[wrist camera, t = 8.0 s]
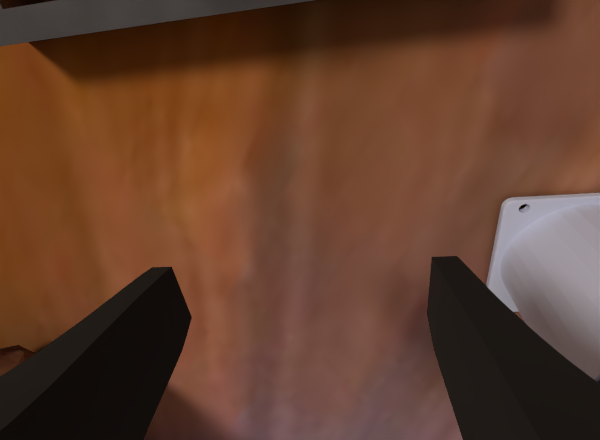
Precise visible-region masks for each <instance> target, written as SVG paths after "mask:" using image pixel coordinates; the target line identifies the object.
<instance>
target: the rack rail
mask: <svg viewBox="0 0 600 440" xmlns="http://www.w3.org/2000/svg"><path fill="white" fill-rule="evenodd" d="M307 1H314V0H56V1H50V2H44V1H43V0H0V46H5V45H12V44H19V43H26V42H32V41H39V40H46V39H53V38H60V37H67V36H74V35H80V34H87V33H94V32H101V31H108V30H115V29H122V28H128V27H135V26H142V25H149V24H156V23H163V22H170V21H177V20H183V19H190V18H197V17H204V16H211V15H218V14H225V13H231V12H238V11H245V10H252V9H259V8H266V7H273V6H280V5H286V4H293V3H300V2H307Z"/></svg>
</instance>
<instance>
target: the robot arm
mask: <svg viewBox="0 0 600 440" xmlns="http://www.w3.org/2000/svg"><path fill="white" fill-rule="evenodd" d="M524 204H527V205H526V207H524V208H523V209H519V207H520V206H521V205H524ZM514 312H519V313H520V314H521V316H522V318H523V320H524V322H525V323H524V322H523V321H522V320H521V319H520V318H519V317H518V316H517V315H516V314H515V313H514ZM427 315H428V321H429V326H430V331H431V336H432V341H433V346H434V351H435V354H436V357H437V360H438V363H439V367H440V370H441V373H442V376H443V379H444V382H445V385H446V388H447V391H448V395H449V398H450V401H451V404H452V407H453V410H454V413H455V416H456V419H457V422H458V425H459V429H460V432H461V435H462V438H463V440H600V193H586V194H568V195H549V196H531V197H513V198H509V199H507V200H505V201H504V202H503V203H502V205H501V210H500V215H499V220H498V226H497V231H496V236H495V241H494V247H493V252H492V257H491V263H490V268H489V273H488V279H487V284H486V285H485V284H484V283H483V282H482V281H481V280H480V279H479V278H478V277H477V276H476V275H475V274H474V273H473V272H472V271H471V270H470V269H469V268H468V267H467V266H466V265H465V264H464V263H463V262H462V261H461V260H460V259H459V258H458V257H457V256H448V257H432V262H431V274H430V286H429V298H428V310H427ZM191 318H192V317H191V314H190V312H189V309H188V307H187V304H186V302H185V299H184V297H183V294H182V292H181V289H180V287H179V284H178V282H177V279H176V277H175V274H174V272H173V269H172V267H156V268H151V269H149V270H148V271H146V272H145V273H143V274H142V275H141V276H139V277H138V278H137V279H135V280H134V281H133V282H131V283H130V284H129V285H127V286H126V287H125V288H123V289H122V290H121V291H120V292H118V293H117V294H116V295H114V296H113V297H112V298H111V299H109V300H108V301H107V302H105V303H104V304H103V305H101V306H100V307H99V308H98V309H96V310H95V311H94V312H92V313H91V314H90V315H88V316H87V317H86V318H84V319H83V320H82V321H80V322H79V323H78V324H76V325H75V326H74V327H72V328H71V329H69V330H68V331H67V332H65V333H64V334H62V335H61V336H60V337H58V338H57V339H56V340H54V341H53V342H51V343H50V344H49V345H47V346H46V347H44V348H43V349H41V350H40V351H39V352H37V353H36V354H34V355H33V356H31V357H30V358H28V359H27V360H25V361H24V362H22V363H21V364H19V365H17V366H16V367H14V368H13V369H11V370H9V371H8V372H6V373H5V374H3V375H2V376H0V440H143V439H144V437H145V434H146V432H147V429H148V427H149V424H150V422H151V420H152V418H153V415H154V413H155V411H156V409H157V406H158V404H159V402H160V400H161V397H162V395H163V393H164V391H165V388H166V386H167V384H168V382H169V379H170V377H171V375H172V373H173V370H174V368H175V366H176V363H177V361H178V359H179V356H180V354H181V352H182V349H183V346H184V342H185V339H186V336H187V332H188V329H189V325H190V321H191Z"/></svg>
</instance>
